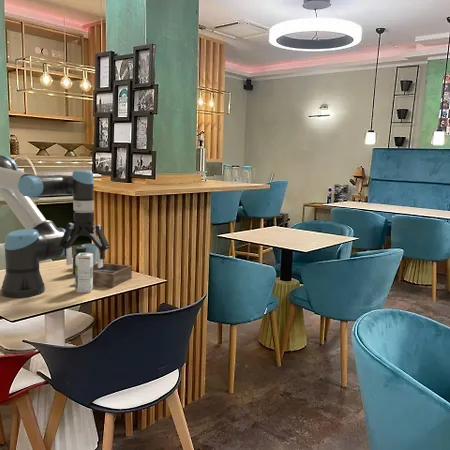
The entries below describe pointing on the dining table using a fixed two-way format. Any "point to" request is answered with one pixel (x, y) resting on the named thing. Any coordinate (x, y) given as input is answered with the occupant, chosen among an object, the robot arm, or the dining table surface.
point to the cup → (92, 251)
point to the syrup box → (84, 272)
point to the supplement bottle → (77, 250)
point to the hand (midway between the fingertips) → (84, 266)
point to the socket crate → (111, 274)
